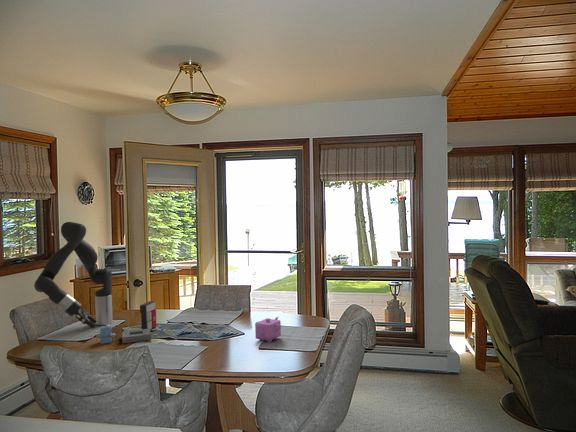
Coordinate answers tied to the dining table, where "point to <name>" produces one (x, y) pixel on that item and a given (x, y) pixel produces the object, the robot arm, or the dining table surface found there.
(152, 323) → the grey red upright box
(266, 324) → the teapot
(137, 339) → the chassis
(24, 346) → the dining table surface
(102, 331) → the servo
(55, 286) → the robot arm
